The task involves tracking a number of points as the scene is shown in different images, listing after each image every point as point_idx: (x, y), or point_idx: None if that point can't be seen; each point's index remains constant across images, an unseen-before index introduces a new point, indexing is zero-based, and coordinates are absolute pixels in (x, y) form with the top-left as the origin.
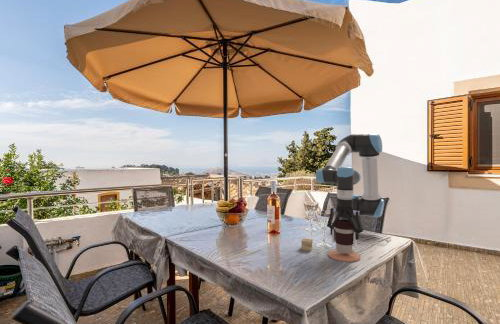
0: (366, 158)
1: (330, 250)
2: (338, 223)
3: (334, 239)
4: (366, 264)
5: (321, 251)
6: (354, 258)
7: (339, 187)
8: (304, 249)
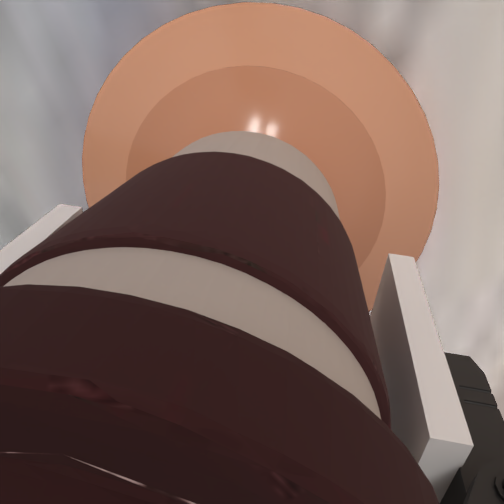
0: None
1: (85, 159)
2: None
3: None
4: (493, 301)
5: (14, 171)
6: (376, 273)
7: None
8: None
